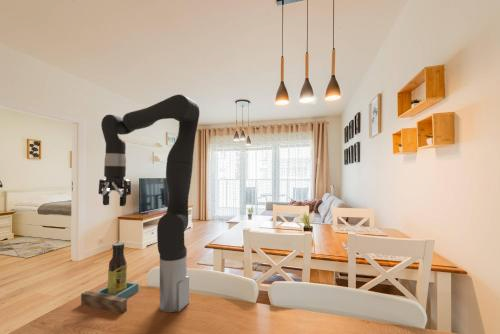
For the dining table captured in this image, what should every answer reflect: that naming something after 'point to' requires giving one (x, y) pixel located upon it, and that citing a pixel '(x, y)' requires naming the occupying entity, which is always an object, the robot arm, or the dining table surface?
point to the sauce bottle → (117, 270)
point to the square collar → (130, 290)
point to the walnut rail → (104, 302)
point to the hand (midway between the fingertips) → (114, 205)
